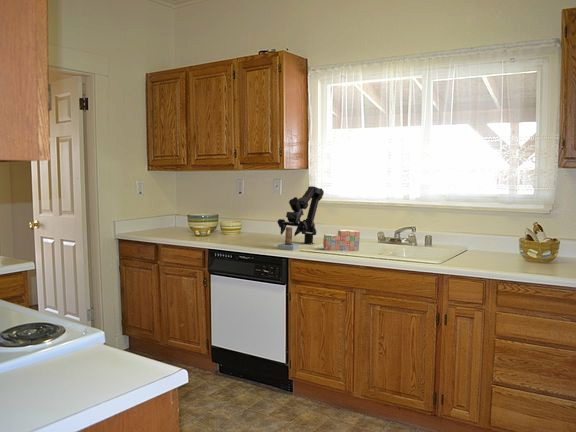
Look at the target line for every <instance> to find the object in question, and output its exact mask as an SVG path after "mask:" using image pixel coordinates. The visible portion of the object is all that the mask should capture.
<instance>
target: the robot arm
mask: <svg viewBox="0 0 576 432" xmlns="http://www.w3.org/2000/svg"><path fill="white" fill-rule="evenodd" d="M323 196H324V189H323V188H322V187H321V188H319V187H317V186H311V185H310V186H308V187H307V190H306V191H305V192H304V194H303V195H302V197H297V196H295V197H293V198H291V199H290V200H289V201H288V204H289V206H290V209H291V210H292V211H286V214H285V218H287V221H286V220H285V219H284V218H283V219H282V218H279V219H278V220H277V224H278V227H279V228H280V235H283V234H284V232H286V227H287V226H288V227H290V226H291V227H296V230H295V232H294V235H293V236H294V237H296V236H298V235H299V234H300V233H301V235H304V239H303V240H304V242H302V244H303V243H313V242H314V236H316V235H317V229H316V224H315V216H316V212H317V208H318V205H319V202H320V201H321V200H322V198H323ZM309 202H310V204H309ZM308 207H309V208H308ZM307 209H308V212H307V216H306V219H303V220H301V217H302V216H304V210H307Z"/></svg>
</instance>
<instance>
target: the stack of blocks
mask: <svg viewBox="0 0 576 432" xmlns="http://www.w3.org/2000/svg"><path fill="white" fill-rule="evenodd" d="M360 234H361V233H360V231H359V230H352V229H337V234H332V233H331V234H330V233H329V234H328V233H327V234H323V242H322V244H323V245H322V248H323V247H324V249H323V250H325V251H343V252H344V251H345V252H347V251H349V252H350V251H352V252H353V251H354V252H355V251H356V252H358V251H360V238H361V237H360Z"/></svg>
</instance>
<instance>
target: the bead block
mask: <svg viewBox="0 0 576 432" xmlns="http://www.w3.org/2000/svg"><path fill="white" fill-rule="evenodd" d="M299 247H300V245H299V244H298V243H292V245H285V242H282V243H279V244H277V250H283V251H285V250H286V251H295V250H298V249H299Z"/></svg>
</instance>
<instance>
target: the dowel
mask: <svg viewBox="0 0 576 432" xmlns="http://www.w3.org/2000/svg"><path fill="white" fill-rule="evenodd" d="M284 239H285V240H284V243H285V245H292V244H293V226H291V227H290V226H286V228H285V237H284Z"/></svg>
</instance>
